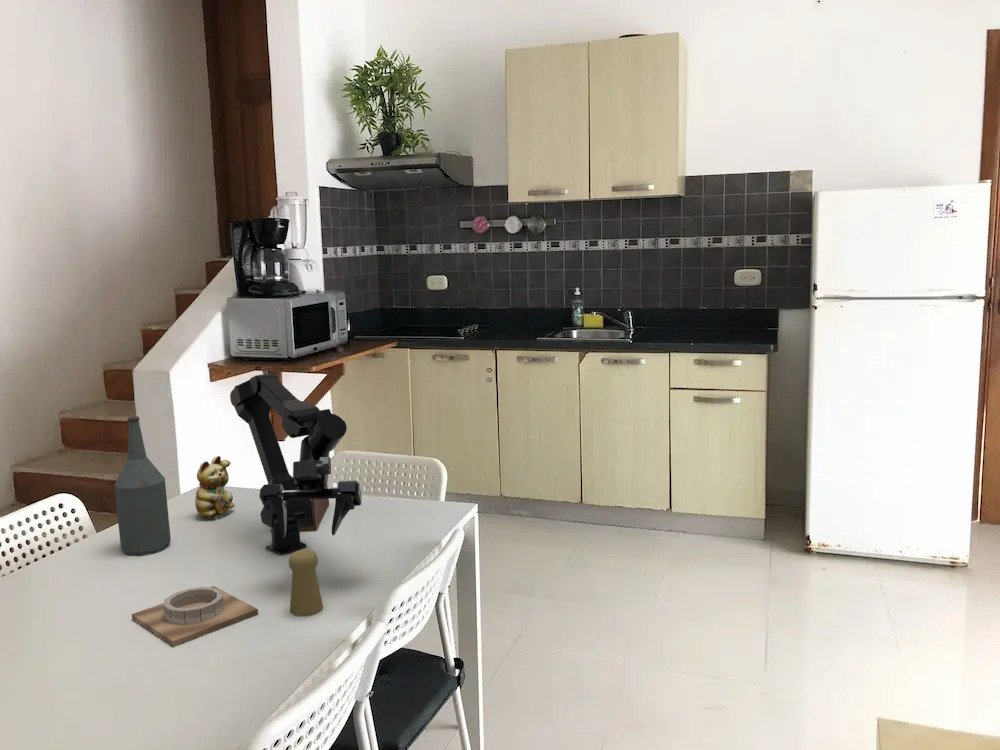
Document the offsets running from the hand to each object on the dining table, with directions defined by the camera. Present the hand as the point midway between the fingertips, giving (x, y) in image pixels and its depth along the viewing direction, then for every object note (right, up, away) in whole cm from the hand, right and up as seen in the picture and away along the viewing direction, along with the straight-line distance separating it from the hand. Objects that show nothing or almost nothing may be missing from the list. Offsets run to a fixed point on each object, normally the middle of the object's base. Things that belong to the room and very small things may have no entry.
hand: (308, 535), depth 157 cm
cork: (0, -13, -4) cm, 13 cm away
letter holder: (-12, -5, +47) cm, 49 cm away
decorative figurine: (-35, -5, +51) cm, 62 cm away
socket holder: (-19, -14, -6) cm, 24 cm away
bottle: (-43, -9, +30) cm, 53 cm away
